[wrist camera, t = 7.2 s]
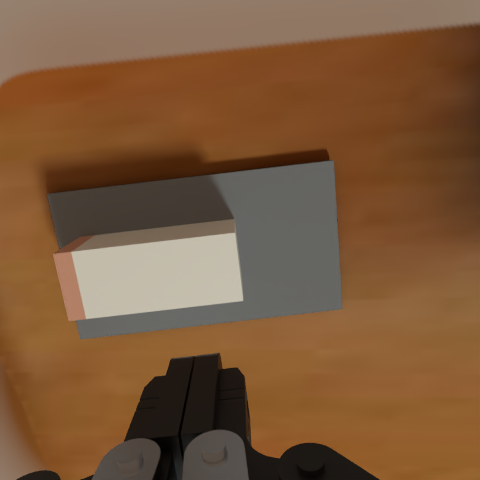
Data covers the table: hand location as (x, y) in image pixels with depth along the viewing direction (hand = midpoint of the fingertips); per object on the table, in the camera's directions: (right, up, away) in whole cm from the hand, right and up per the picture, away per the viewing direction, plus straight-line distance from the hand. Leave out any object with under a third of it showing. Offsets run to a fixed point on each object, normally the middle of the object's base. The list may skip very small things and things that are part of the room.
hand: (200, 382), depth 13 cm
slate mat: (-1, +4, +14) cm, 15 cm away
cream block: (+1, +3, +12) cm, 12 cm away
